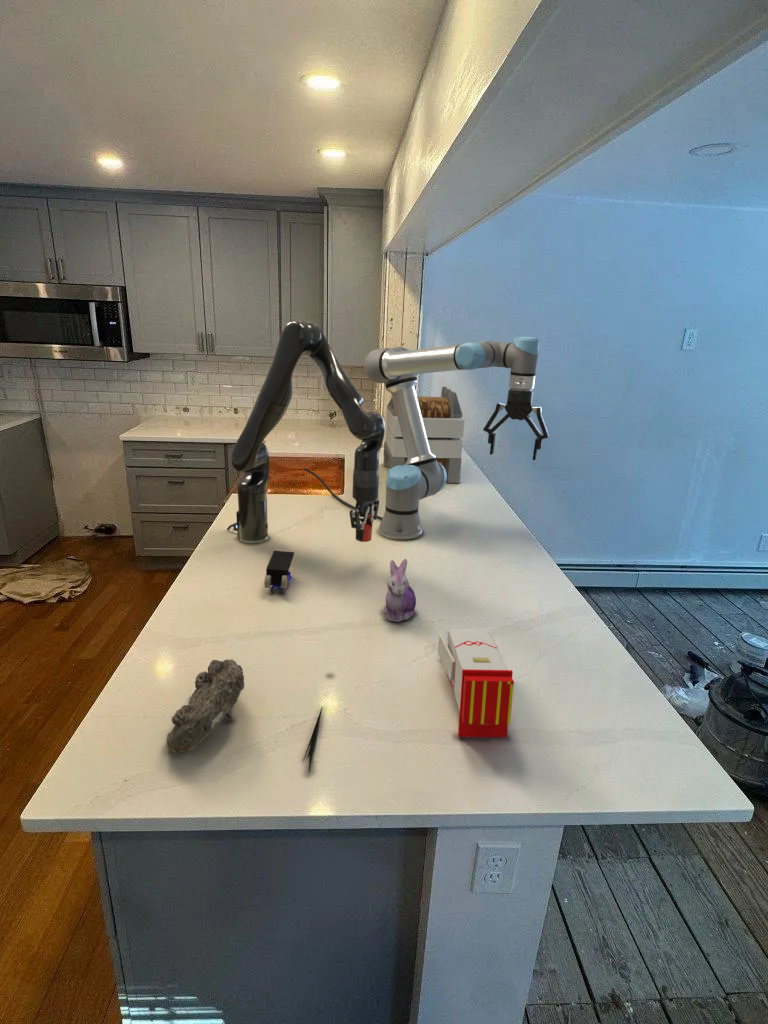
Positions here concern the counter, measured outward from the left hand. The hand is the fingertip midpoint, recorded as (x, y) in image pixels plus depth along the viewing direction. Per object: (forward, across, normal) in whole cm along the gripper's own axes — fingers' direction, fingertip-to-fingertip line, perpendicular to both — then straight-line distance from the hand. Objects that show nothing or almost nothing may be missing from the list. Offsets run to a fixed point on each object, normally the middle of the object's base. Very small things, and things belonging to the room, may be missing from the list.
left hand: (363, 537), depth 169 cm
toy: (+10, +39, +48) cm, 63 cm away
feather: (+10, +62, +26) cm, 69 cm away
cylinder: (+1, 0, 0) cm, 1 cm away
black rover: (+10, +22, -14) cm, 28 cm away
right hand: (-22, -40, +31) cm, 55 cm away
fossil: (+10, +72, +9) cm, 73 cm away
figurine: (+10, +19, +22) cm, 30 cm away
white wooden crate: (+10, -107, -30) cm, 112 cm away
